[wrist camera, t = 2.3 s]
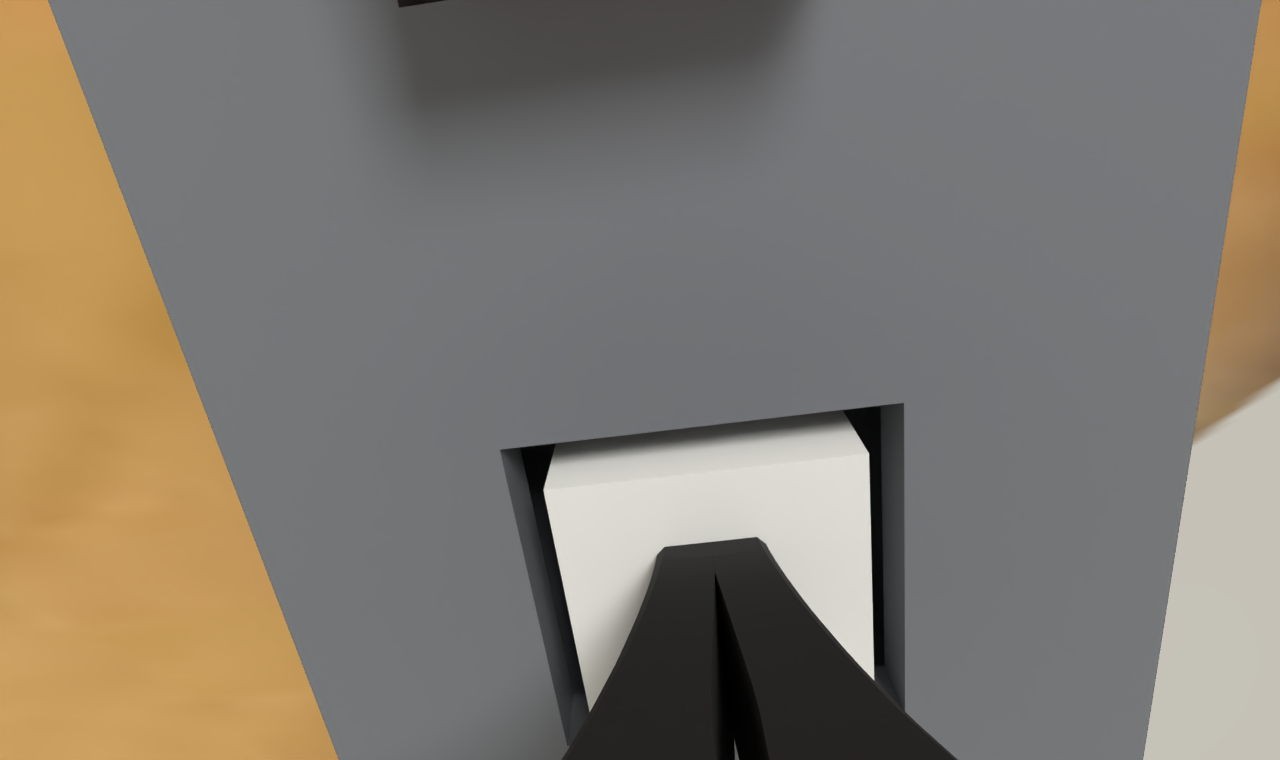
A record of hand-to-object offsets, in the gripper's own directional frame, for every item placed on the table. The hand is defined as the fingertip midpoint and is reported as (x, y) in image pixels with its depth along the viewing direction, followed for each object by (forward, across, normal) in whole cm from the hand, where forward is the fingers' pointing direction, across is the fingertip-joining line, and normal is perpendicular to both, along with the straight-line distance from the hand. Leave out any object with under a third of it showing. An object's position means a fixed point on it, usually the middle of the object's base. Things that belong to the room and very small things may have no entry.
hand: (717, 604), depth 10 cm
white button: (+4, 0, 0) cm, 4 cm away
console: (+5, 0, -5) cm, 7 cm away
